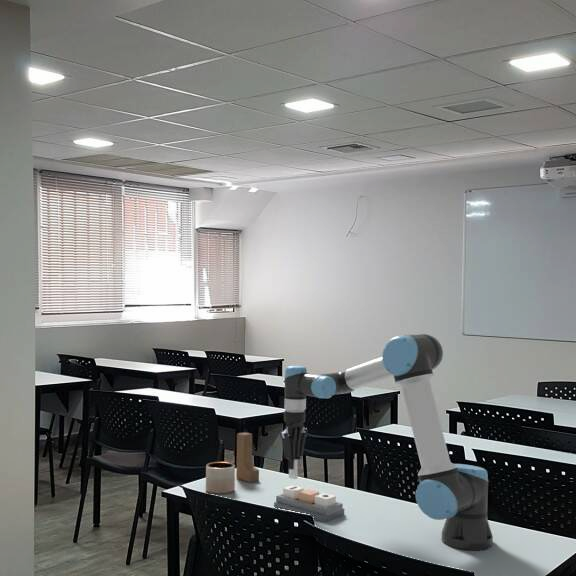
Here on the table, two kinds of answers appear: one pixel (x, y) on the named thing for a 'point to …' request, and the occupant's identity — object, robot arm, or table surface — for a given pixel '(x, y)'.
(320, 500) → the dot key
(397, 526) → the table surface
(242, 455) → the wooden block
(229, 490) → the planter
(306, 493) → the blank key
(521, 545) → the table surface
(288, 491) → the bar key
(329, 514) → the keypad
